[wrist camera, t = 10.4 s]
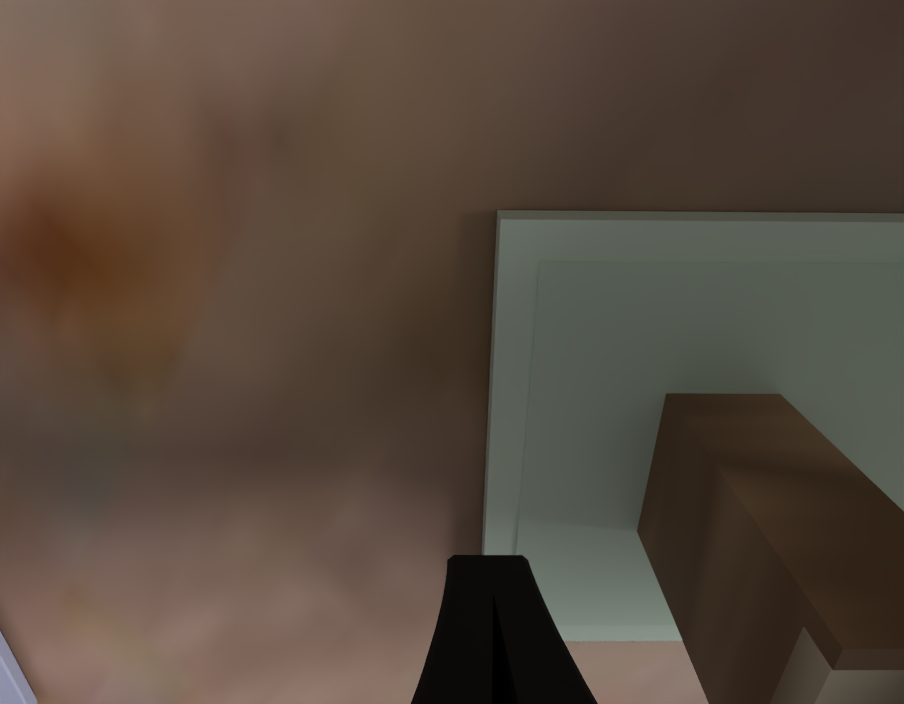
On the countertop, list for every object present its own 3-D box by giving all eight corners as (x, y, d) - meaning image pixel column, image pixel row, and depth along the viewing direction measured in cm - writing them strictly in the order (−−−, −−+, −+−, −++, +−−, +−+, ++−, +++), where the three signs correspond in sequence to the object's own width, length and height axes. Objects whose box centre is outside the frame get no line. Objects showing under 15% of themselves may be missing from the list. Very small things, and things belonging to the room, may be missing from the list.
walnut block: (636, 531, 14) (756, 820, 8) (665, 393, 12) (841, 648, 7) (737, 531, 14) (921, 819, 8) (780, 393, 12) (1048, 648, 7)
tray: (478, 616, 16) (480, 644, 16) (497, 209, 11) (501, 221, 10) (943, 616, 17) (968, 643, 16) (1182, 215, 11) (1237, 226, 11)
